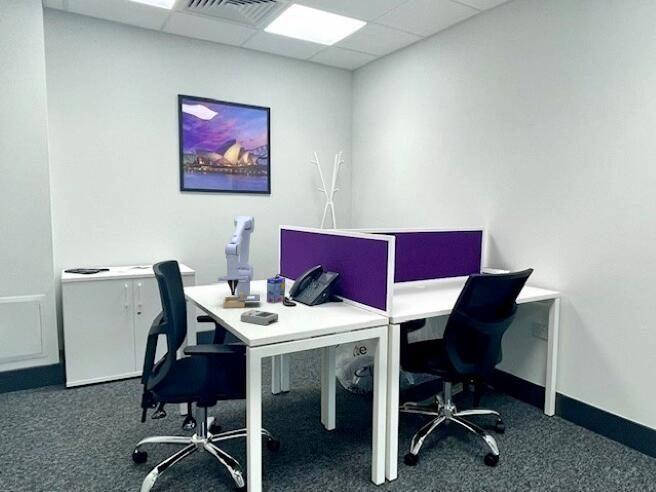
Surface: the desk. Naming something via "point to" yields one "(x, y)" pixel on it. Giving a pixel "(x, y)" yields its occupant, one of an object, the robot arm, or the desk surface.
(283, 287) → the ink cartridge box
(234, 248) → the robot arm
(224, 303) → the kraft box
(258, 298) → the lid
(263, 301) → the desk surface
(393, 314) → the desk surface
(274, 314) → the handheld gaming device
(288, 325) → the desk surface
